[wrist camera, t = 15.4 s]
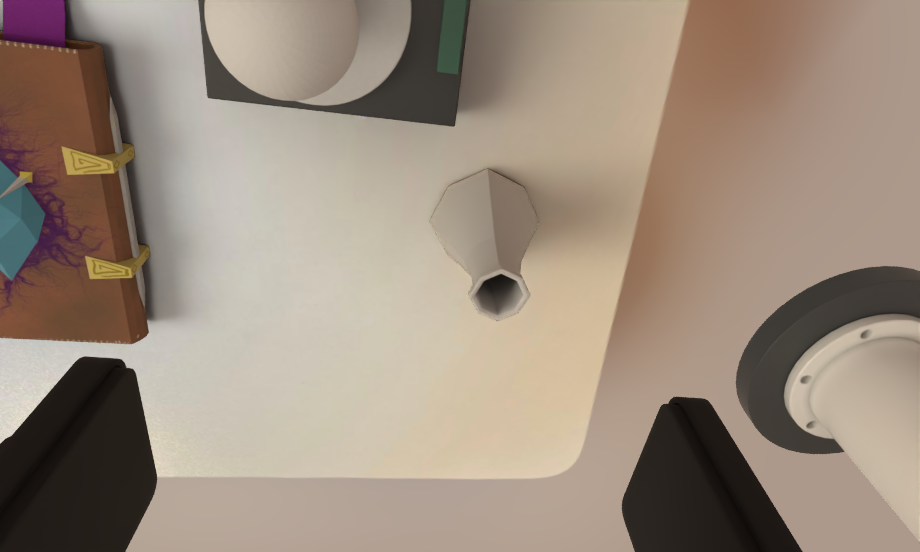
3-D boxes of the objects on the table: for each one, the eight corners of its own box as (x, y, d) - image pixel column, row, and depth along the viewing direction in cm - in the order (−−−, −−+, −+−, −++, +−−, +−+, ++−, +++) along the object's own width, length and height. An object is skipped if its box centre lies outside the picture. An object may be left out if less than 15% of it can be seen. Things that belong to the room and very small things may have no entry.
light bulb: (233, -32, 27) (143, -24, 19) (343, -79, 27) (302, -93, 18) (291, 85, 30) (236, 138, 22) (391, 45, 30) (375, 84, 21)
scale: (477, -93, 30) (483, -98, 27) (453, 114, 35) (455, 130, 32) (206, -135, 28) (177, -147, 25) (224, 87, 34) (202, 101, 31)
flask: (411, 219, 39) (405, 295, 30) (488, 148, 37) (506, 209, 28) (480, 282, 42) (493, 369, 33) (556, 220, 39) (591, 296, 31)
